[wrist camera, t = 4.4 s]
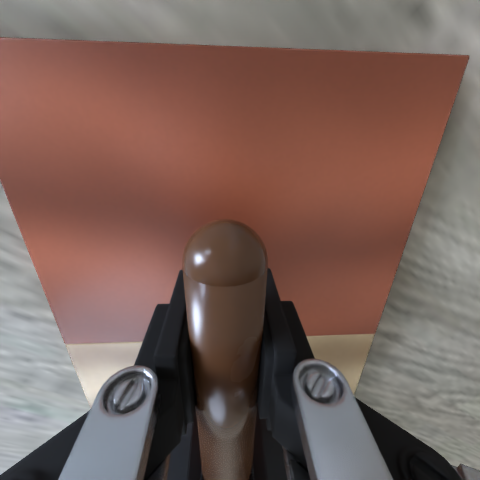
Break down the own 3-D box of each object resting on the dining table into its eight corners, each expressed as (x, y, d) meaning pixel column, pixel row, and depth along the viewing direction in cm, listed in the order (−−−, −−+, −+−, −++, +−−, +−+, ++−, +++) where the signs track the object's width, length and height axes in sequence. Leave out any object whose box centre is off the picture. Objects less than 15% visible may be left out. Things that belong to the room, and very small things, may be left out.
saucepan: (82, 171, 10) (-134, 244, 4) (357, 173, 11) (530, 238, 5) (154, 457, 20) (122, 608, 14) (297, 448, 21) (329, 588, 15)
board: (-37, 41, 9) (-60, 34, 8) (453, 59, 10) (471, 54, 9) (117, 457, 21) (114, 469, 21) (330, 444, 23) (334, 455, 22)
